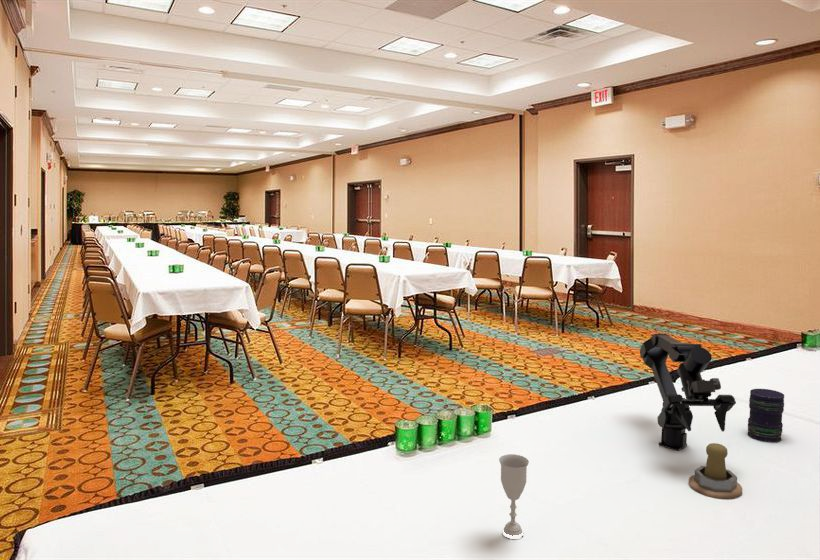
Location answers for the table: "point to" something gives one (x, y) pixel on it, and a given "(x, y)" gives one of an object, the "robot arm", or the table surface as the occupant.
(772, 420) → the storage jar
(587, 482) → the table surface
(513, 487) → the chalice
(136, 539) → the table surface
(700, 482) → the coupling socket
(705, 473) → the cork
